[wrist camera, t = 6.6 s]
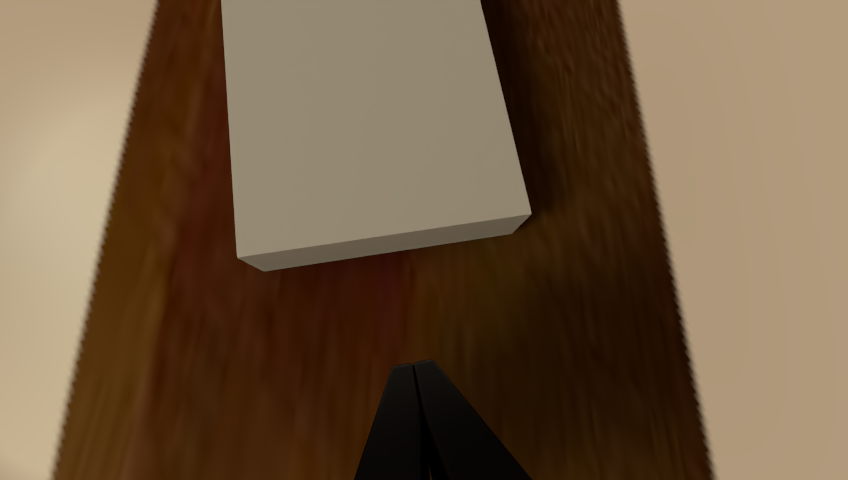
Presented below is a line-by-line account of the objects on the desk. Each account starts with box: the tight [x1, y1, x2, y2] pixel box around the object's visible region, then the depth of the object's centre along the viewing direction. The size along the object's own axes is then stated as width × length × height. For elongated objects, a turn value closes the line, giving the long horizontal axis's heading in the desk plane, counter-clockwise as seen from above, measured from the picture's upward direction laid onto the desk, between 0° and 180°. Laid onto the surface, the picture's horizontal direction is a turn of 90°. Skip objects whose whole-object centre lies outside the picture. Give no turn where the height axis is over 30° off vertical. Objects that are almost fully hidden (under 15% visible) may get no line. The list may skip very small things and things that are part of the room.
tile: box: [221, 0, 532, 271], centre depth 15 cm, size 3×9×11 cm
